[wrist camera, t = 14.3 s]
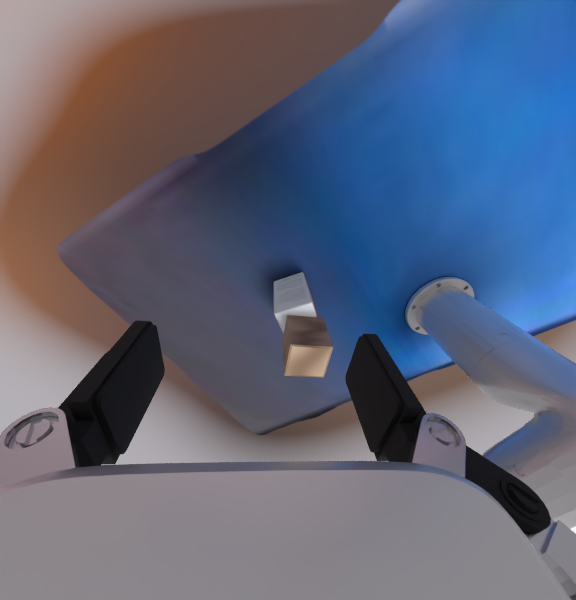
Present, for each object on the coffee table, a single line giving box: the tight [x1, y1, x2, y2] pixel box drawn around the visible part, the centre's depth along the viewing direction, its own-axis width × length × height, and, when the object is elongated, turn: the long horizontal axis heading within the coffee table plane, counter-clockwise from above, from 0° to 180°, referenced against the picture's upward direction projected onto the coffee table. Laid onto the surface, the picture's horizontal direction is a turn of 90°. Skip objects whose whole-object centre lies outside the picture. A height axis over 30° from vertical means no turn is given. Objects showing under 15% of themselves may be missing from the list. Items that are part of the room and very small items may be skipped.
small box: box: [274, 272, 318, 334], centre depth 38 cm, size 8×6×10 cm
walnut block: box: [282, 315, 333, 377], centre depth 30 cm, size 5×5×6 cm
